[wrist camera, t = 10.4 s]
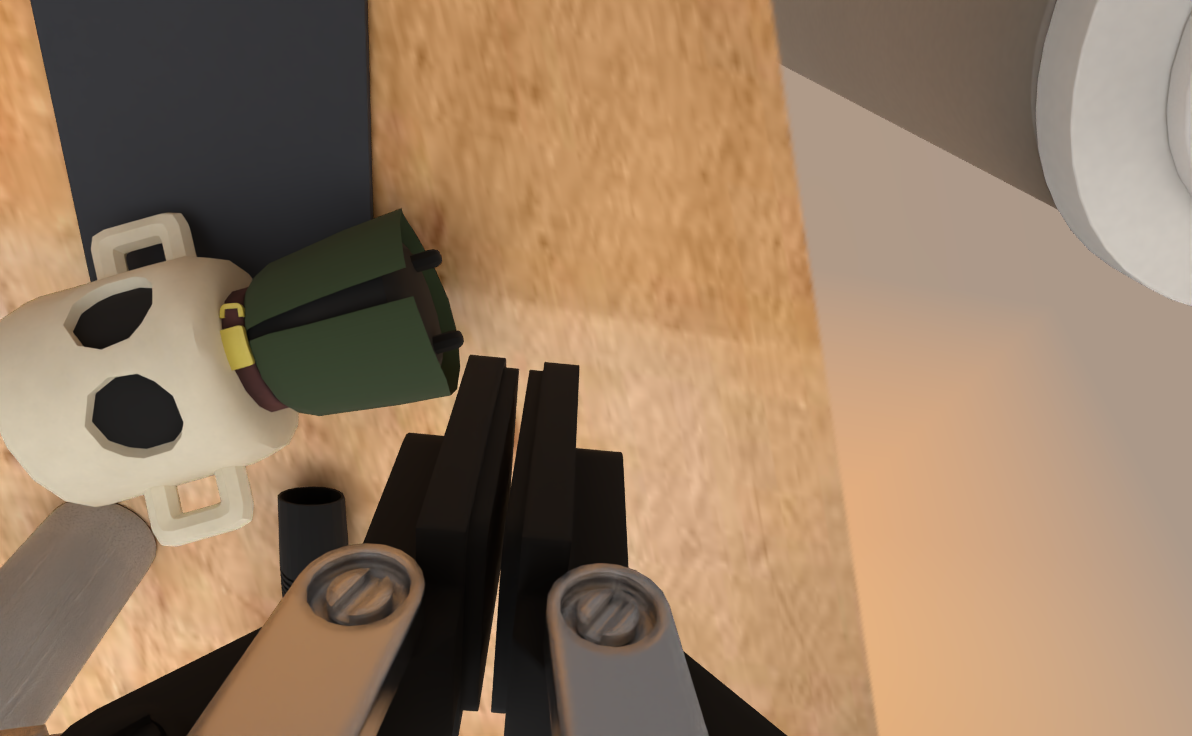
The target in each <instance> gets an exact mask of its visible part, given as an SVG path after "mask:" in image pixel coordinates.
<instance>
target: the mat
mask: <svg viewBox="0 0 1192 736" xmlns="http://www.w3.org/2000/svg"><path fill="white" fill-rule="evenodd" d="M30 1H31V6H32V10H33V15H34V20H35V24H36V29H37V34H38V38H39V43H40V48H41V52H42V57H43V62H44V66H45V71H46V76H47V80H48V85H49V90H50V94H51V99H52V104H53V108H54V113H55V118H56V122H57V127H58V132H59V136H60V141H61V146H62V150H63V155H64V160H65V164H66V169H67V174H68V178H69V183H70V187H71V192H72V197H73V201H74V206H75V211H76V215H77V220H78V225H79V229H80V234H81V239H82V243H83V248H84V253H85V257H86V262H87V267H88V271H89V276H90V281H91V282H93V281H97V275H96V271H95V266H94V262H93V257H92V252H91V245H92V237H93V236H95V235H96V234H98V233H99V232H101V231H103V230H105V229H108V228H112V227H115V226H119V225H122V224H126V223H129V222H133V221H137V220H140V219H144V218H147V217H151V216H154V215H158V214H162V213H181V214H182V215H183V217H184V218H185V220H186V221H187V223H188V224H189V227H190V230H191V234H192V239H193V243H194V247H195V251H196V256H197V257H204V258H214V259H222V260H230V261H231V262H232V263H234V264H235V265H237V266H238V267H240V268H241V269H242V270H244V271H245V272H247V273H248V274H249V275H250V276H251V278H252V279H253V278H254V277H255V276H256V275H257V274H258V273H259V272H260V271H261V270H262V269H264V268H265V267H266V266H267V265H268V264H269V263H271V262H273V261H276V260H278V259H280V258H282V257H285V256H287V255H289V254H291V253H294V252H296V251H298V250H300V249H303V248H305V247H307V246H309V245H312V244H314V243H316V242H318V241H321V240H323V239H325V238H327V237H329V236H332V235H334V234H336V233H338V232H341V231H343V230H345V229H348V228H351V227H353V226H356V225H359V224H361V223H364V222H367V221H369V220H372V219H373V187H372V150H371V113H370V76H369V39H368V2H367V0H30ZM126 260H127V265H128V269H129V271H131V270H134V269H138V268H141V267H145V266H148V265H152V264H156V263H160V262H164V261H166V258H165V253H164V249H163V244H162V243H160V244H156V245H153V246H149V247H146V248H142V249H138V250H135V251H131V252H129V253H128V254H127V256H126Z"/></svg>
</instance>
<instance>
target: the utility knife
mask: <svg viewBox="0 0 1192 736" xmlns="http://www.w3.org/2000/svg"><path fill="white" fill-rule="evenodd" d="M278 520H279V555H280V571H281V585H282V597H284V596H285V594H286V593H287V591H288V590H289V588H290V587H291V586H292V584H293V583H294V581H295V580H296V578H297V577H298V576H299V574H300V573H301V572H302V571H303V570H304V569H305V568H306V567H307V566H308V565H309V564H310V563H311V562H312V561H314V560H315V559H317V558H319V557H320V556H322V555H324V554H325V553H327V552H329V551H332V550H335V549H338V548H341V547H344V546H348V533H347V521H346V508H345V497H344V494H343V493H342V492H340V491H338V490H335V489H330V488H325V487H298V488H293V489H288V490H285V491H283V492H281V493H280V494H279V495H278Z"/></svg>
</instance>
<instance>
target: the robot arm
mask: <svg viewBox="0 0 1192 736" xmlns="http://www.w3.org/2000/svg"><path fill="white" fill-rule="evenodd" d="M1166 112H1167V126H1168V140H1169V147H1170V150H1171V153H1172V157H1173V160H1174V163H1175V166H1176V169H1177V173H1178V176H1179V177H1180V179H1181V180H1182V182H1183V183H1184V185H1185V187H1186V188H1187V190H1188V191H1189V193H1190V194H1191V196H1192V14H1191V16H1190V18H1189V20H1188V22H1187V24H1186V26H1185V28H1184V31H1183V35H1182V38H1181V41H1180V44H1179V48H1178V51H1177V54H1176V57H1175V61H1174V64H1173V67H1172V70H1171V78H1170V86H1169V94H1168V101H1167V109H1166ZM518 377H519V369H516V368H506V358H498V357H488V356H478V355H470V356H469V359H468V362H467V365H466V368H465V371H464V375H463V378H462V381H461V384H460V387H459V391H458V394H457V397H456V400H455V403H454V407H453V410H452V413H451V416H450V419H449V423H448V426H447V429H446V432H445V435H444V436H439V435H428V434H417V433H408V434H406V436H405V438H404V440H403V443H402V445H401V448H400V450H399V453H398V456H397V458H396V461H395V463H394V466H393V468H392V471H391V473H390V476H389V478H388V481H387V484H386V486H385V489H384V491H383V494H382V496H381V499H380V501H379V504H378V507H377V509H376V512H375V514H374V517H373V519H372V522H371V524H370V527H369V529H368V532H367V535H366V537H365V540H364V542H363V544H356V545H348V546H344V547H341V548H338V549H335V550H332V551H329V552H327V553H325V554H324V555H322V556H320V557H319V558H317V559H315V560H314V561H312V562H311V563H310V564H309V565H308V566H307V567H306V568H305V569H304V570H303V571H302V572H301V573H300V574H299V576H298V577H297V578H296V580H295V581H294V583H293V584H292V586H291V587H290V588H289V590H288V591H287V593H286V594H285V596H284V597H283V598H282V600H281V601H280V603H279V604H278V606H277V607H276V608H275V610H274V611H273V613H272V614H271V616H270V617H269V618H268V620H267V621H266V623H265V624H264V626H263V627H261V628H259V629H257V630H255V631H253V632H251V633H249V634H247V635H245V636H243V637H241V638H239V639H237V640H235V641H233V642H231V643H229V644H227V645H225V646H223V647H221V648H219V649H217V650H215V651H213V652H211V653H209V654H207V655H205V656H203V657H201V658H199V659H197V660H195V661H193V662H191V663H189V664H187V665H185V666H183V667H181V668H179V669H177V670H175V671H173V672H171V673H169V674H167V675H165V676H163V677H161V678H159V679H157V680H155V681H153V682H151V683H149V684H147V685H145V686H143V687H141V688H139V689H137V690H135V691H133V692H131V693H129V694H127V695H125V696H123V697H121V698H119V699H117V700H115V701H113V702H111V703H109V704H107V705H105V706H103V707H101V708H99V709H97V710H95V711H93V712H92V713H90V714H88V715H87V716H85V717H84V718H82V719H80V720H79V721H77V722H75V723H74V724H72V725H71V726H70V727H69V728H68V729H67V730H66V731H65V732H63V733H61V734H53V735H49V733H48V731H47V728H46V725H45V724H44V725H36V726H28V727H20V728H12V729H4V730H0V736H458V735H459V729H460V724H461V718H462V712H463V710H466V711H478V709H479V704H480V698H481V691H482V685H483V678H484V672H485V666H486V659H487V653H488V646H489V640H490V634H491V627H492V621H493V614H494V608H495V602H496V595H497V589H498V582H499V576H500V587H499V602H498V616H497V631H496V646H495V661H494V675H493V690H492V705H491V712H493V713H506V718H505V730H504V736H787V735H786V734H784V733H783V732H782V731H781V730H779V729H778V728H777V727H776V726H775V725H773V724H772V723H771V722H770V721H768V720H767V719H766V718H765V717H763V716H762V715H761V714H760V713H759V712H757V711H756V710H755V709H754V708H752V707H751V706H750V705H749V704H748V703H746V702H745V701H744V700H743V699H741V698H740V697H739V696H738V695H736V694H735V693H734V692H733V691H732V690H730V689H729V688H728V687H727V686H725V685H724V684H723V683H722V682H721V681H719V680H718V679H717V678H716V677H714V676H713V675H712V674H711V673H709V672H708V671H707V670H706V669H705V668H703V667H702V666H701V665H700V664H698V663H697V662H696V661H695V660H693V659H692V658H691V657H690V656H689V655H687V654H686V653H685V652H684V651H683V649H682V645H681V642H680V639H679V635H678V632H677V629H676V625H675V622H674V619H673V615H672V612H671V609H670V605H669V603H668V602H667V600H666V598H665V596H664V594H663V592H662V591H661V590H660V588H659V587H658V586H657V585H656V584H655V583H654V582H653V581H652V580H651V579H649V578H647V577H646V576H644V575H642V574H641V573H639V572H637V571H636V570H633V569H630V568H628V549H627V529H626V508H625V488H624V467H623V454H622V453H621V452H612V451H601V450H590V449H579V448H576V433H577V410H578V387H579V365H569V364H559V363H549V362H545V363H544V370H543V371H536V370H530V371H529V377H528V384H527V390H526V396H525V402H524V408H523V415H522V421H521V427H520V433H519V440H518V446H517V452H516V458H515V464H514V471H513V477H512V483H511V475H512V461H513V447H514V433H515V419H516V405H517V391H518ZM500 570H501V572H500Z"/></svg>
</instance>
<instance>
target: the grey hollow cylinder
mask: <svg viewBox="0 0 1192 736" xmlns="http://www.w3.org/2000/svg"><path fill="white" fill-rule="evenodd" d="M155 555H156V542H155V539H154V536H153V534H152V532H151V530H150V529H149V527H148V526H147V525H146V523H145V522H144V521H143V520H142V519H141V518H139V517H138V516H137V515H136V514H134V513H133V512H131V511H130V510H128V509H126V508H124V507H122V506H120V505H118V504H115V503H114V504H110V505H104V506H99V507H93V506H87V505H82V504H77V503H72V502H67V503H64V504H62V505H61V506H59V507H58V508H57V509H55V510H54V511H53V512H52V513H51V514H50V515H49V516H48V517H47V518H46V519H45V520H44V521H43V522H42V523H41V524H40V526H39V527H38V528H37V529H36V530H35V531H34V532H33V533H32V534H31V535H30V536H29V538H28V539H27V540H26V541H25V542H24V543H23V544H22V545H21V546H20V547H19V548H18V550H17V551H16V552H15V553H14V554H13V555H12V556H11V557H10V558H9V559H8V561H7V562H6V563H5V564H4V565H3V566H2V567H1V568H0V730H4V729H12V728H20V727H28V726H36V725H44V724H45V722H46V721H47V719H48V718H49V716H50V715H51V713H52V712H53V711H54V709H55V708H56V706H57V705H58V703H59V702H60V700H61V699H62V697H63V696H64V694H65V693H66V691H67V690H68V688H69V687H70V685H71V684H72V682H73V681H74V679H75V678H76V676H77V675H78V673H79V672H80V670H81V669H82V667H83V666H84V664H85V663H86V661H87V660H88V659H89V657H90V656H91V654H92V653H93V651H94V650H95V648H96V647H97V645H98V644H99V642H100V641H101V639H102V638H103V636H104V635H105V633H106V632H107V630H108V629H109V627H110V626H111V624H112V623H113V621H114V620H115V618H116V617H117V615H118V614H119V612H120V611H121V609H122V608H123V607H124V605H125V604H126V602H127V601H128V599H129V598H130V596H131V595H132V593H133V592H134V590H135V589H136V587H137V586H138V584H139V583H140V581H141V580H142V578H143V577H144V575H145V574H146V572H147V571H148V569H149V567H150V566H151V564H152V562H153V560H154V558H155Z"/></svg>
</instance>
